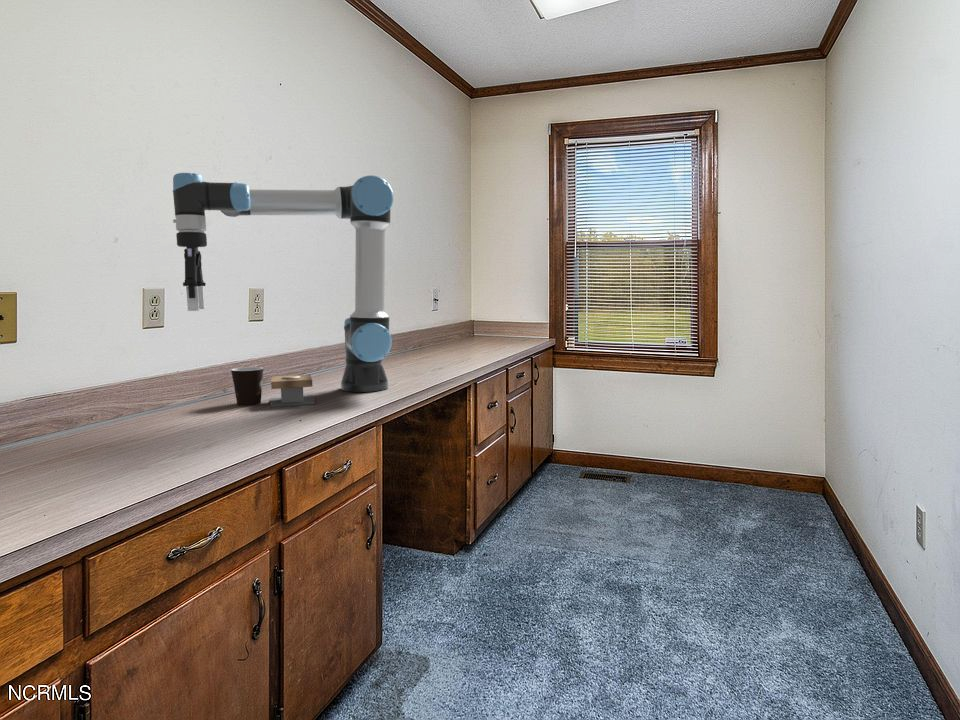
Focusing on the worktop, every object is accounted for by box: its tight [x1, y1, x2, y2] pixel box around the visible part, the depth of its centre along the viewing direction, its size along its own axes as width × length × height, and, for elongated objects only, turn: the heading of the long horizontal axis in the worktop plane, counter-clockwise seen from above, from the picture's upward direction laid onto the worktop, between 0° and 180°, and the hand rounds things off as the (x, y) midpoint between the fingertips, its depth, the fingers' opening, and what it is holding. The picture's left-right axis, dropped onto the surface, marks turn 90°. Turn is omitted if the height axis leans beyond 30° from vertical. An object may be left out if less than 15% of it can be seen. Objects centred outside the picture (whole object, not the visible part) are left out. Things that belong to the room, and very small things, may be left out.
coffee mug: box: [230, 366, 264, 407], centre depth 185 cm, size 12×9×10 cm
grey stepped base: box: [269, 387, 316, 408], centre depth 185 cm, size 12×12×5 cm
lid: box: [270, 374, 313, 390], centre depth 185 cm, size 11×11×2 cm
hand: (196, 310), depth 178 cm, fingers open, 13 cm apart
